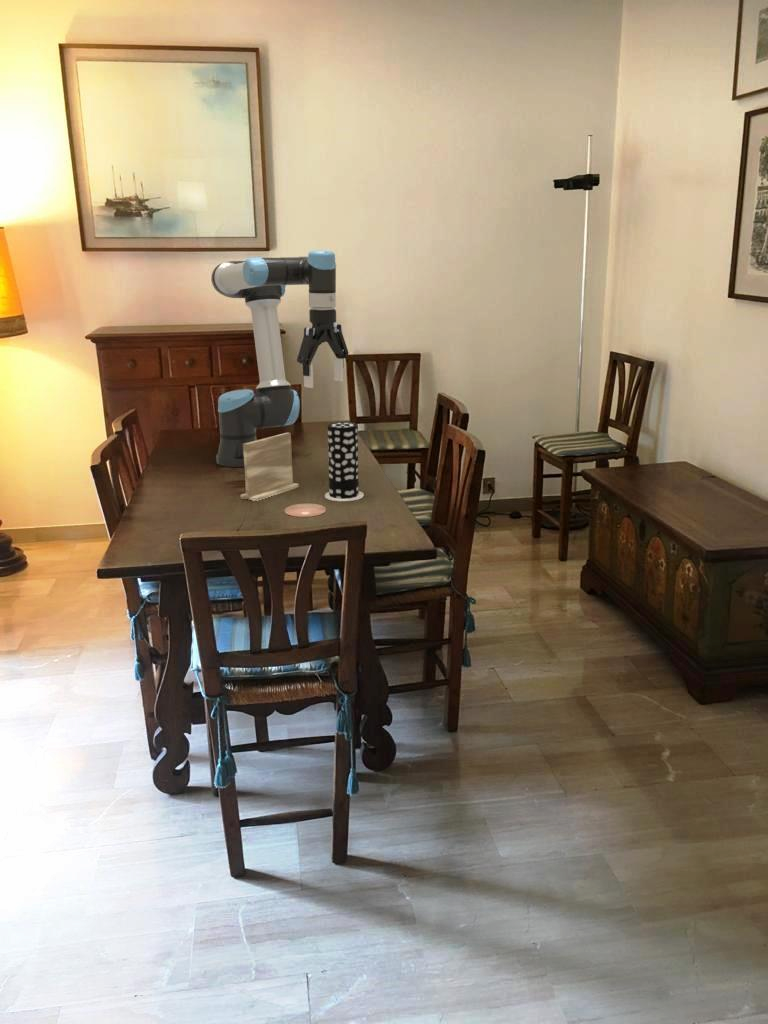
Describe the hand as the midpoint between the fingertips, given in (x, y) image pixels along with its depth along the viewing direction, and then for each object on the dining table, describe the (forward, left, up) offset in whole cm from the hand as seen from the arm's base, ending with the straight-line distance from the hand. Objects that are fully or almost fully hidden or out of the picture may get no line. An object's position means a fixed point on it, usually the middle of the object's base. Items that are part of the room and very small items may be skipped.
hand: (324, 384), depth 235 cm
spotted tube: (+12, -8, -30) cm, 33 cm away
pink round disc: (+12, -25, -30) cm, 41 cm away
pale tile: (+12, -8, -30) cm, 33 cm away
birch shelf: (-8, -17, -30) cm, 35 cm away
